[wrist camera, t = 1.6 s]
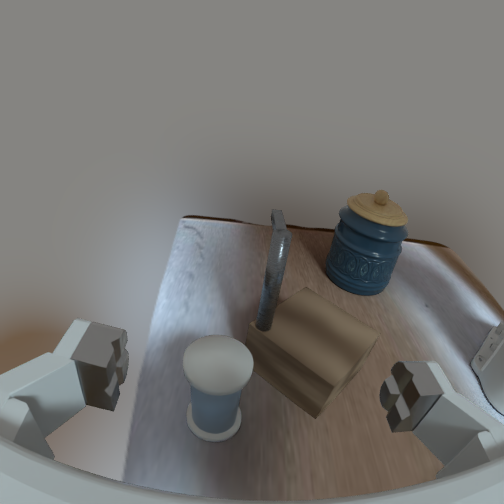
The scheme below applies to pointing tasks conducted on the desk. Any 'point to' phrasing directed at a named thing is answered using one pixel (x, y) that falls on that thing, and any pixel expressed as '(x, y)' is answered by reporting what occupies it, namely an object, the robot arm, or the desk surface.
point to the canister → (366, 243)
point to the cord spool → (216, 385)
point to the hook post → (273, 271)
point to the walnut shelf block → (310, 350)
